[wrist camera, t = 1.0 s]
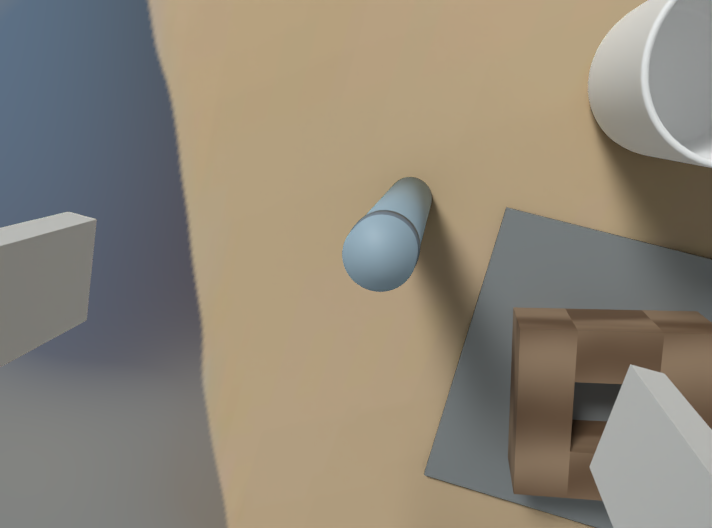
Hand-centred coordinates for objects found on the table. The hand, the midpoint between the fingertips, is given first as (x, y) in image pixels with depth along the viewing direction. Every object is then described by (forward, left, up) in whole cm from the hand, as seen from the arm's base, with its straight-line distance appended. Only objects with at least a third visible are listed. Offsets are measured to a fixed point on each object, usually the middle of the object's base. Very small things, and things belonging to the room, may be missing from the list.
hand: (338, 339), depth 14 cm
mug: (-10, +14, -24) cm, 30 cm away
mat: (+9, +15, -24) cm, 30 cm away
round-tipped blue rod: (0, 0, -24) cm, 24 cm away
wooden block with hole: (+9, +15, -24) cm, 29 cm away
